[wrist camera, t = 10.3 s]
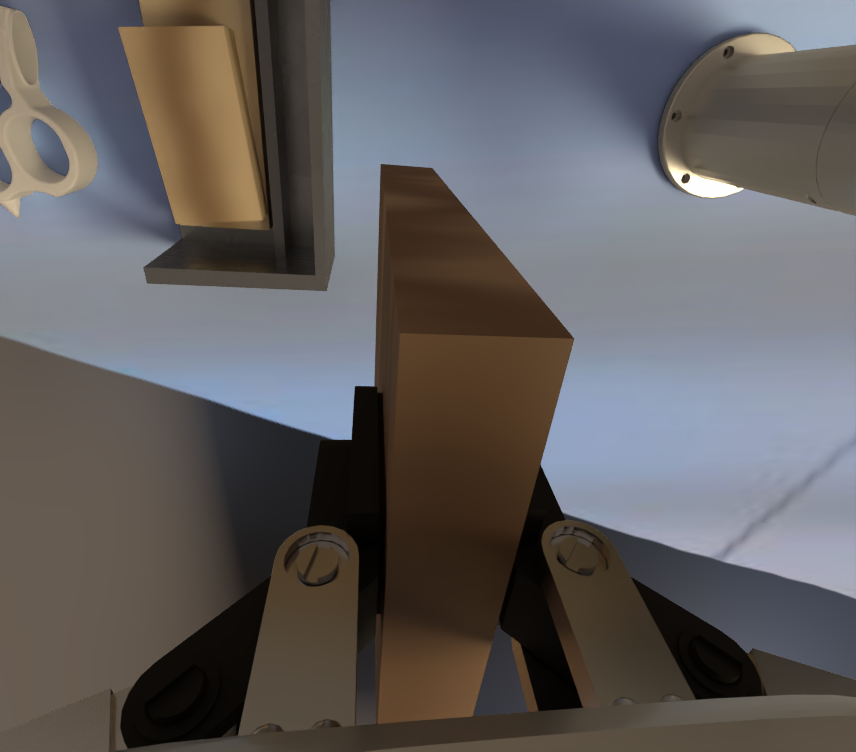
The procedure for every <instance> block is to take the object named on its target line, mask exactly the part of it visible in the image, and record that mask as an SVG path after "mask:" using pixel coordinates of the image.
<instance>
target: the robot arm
mask: <svg viewBox="0 0 856 752" xmlns="http://www.w3.org/2000/svg"><path fill="white" fill-rule="evenodd" d="M723 53H724V54H723ZM672 114H673V117H672ZM658 151H659V156H660V162H661V165H662V167H663V170H664V172H665V174H666V176H667V177H668V178H669V180H670V181H671V183H672V184H674V185H675V186H676V187H677V188H678V189H679V190H681V191H683V192H685V193H687V194H690V195H693V196H697V197H700V198H719V197H725V196H728V195H731V194H734V193H737V192H739V191H741V190H743V189H748V190H752V191H756V192H760V193H764V194H769V195H773V196H777V197H781V198H785V199H789V200H793V201H797V202H801V203H805V204H809V205H814V206H818V207H822V208H826V209H830V210H834V211H838V212H842V213H846V214H850V215H854V216H856V45H848V46H839V47H830V48H821V49H812V50H802V51H796V49H795V48H794V47H793V46H792V45H791V44H790V43H789V42H787V41H786V40H784V39H783V38H781V37H780V36H776V35H772V34H769V33H750V34H744V35H739V36H736V37H733V38H730V39H727V40H724V41H723V42H721V43H719V44H717V45H716V46H714V47H712V48H710V49H709V50H708V51H707V52H705V53H704V54H703V55H702V56H700V57H699V58H698V59H697V60H696V61H695V62H694V63H693V64H692V65H691V66H690V67H689V68H688V70H687V71H686V72H685V73H684V74H683V76H682V77H681V79H680V80H679V82H678V83H677V84H676V86H675V87H674V89H673V91H672V93H671V95H670V97H669V99H668V101H667V103H666V106H665V109H664V112H663V115H662V118H661V123H660V128H659V134H658ZM681 178H682V179H681ZM385 531H386V481H385V450H384V419H383V393H378V387H371V386H355V395H354V411H353V427H352V440H321V441H320V446H319V452H318V459H317V465H316V472H315V478H314V484H313V491H312V497H311V504H310V510H309V517H308V524H307V528H305V529H303V530H300V531H297V532H296V533H295V534H293V535H292V536H291V537H289V538H287V540H286V541H285V542H284V543H283V544H282V546H281V547H280V548H279V550H278V552H277V555H276V558H275V561H274V565H273V570H272V575H271V576H270V577H269V578H268V579H266V580H265V581H264V582H262V583H261V584H260V585H258V586H257V587H256V588H254V589H253V590H252V591H250V592H249V593H248V594H246V595H245V596H244V597H242V598H241V599H240V600H238V601H237V602H236V603H234V604H233V605H232V606H230V607H229V608H228V609H226V610H225V611H224V612H222V613H221V614H220V615H219V616H217V617H215V618H214V619H213V620H211V621H210V622H209V623H208V624H206V625H205V626H203V627H202V628H201V629H200V630H198V631H197V632H196V633H194V634H193V635H191V636H190V637H189V638H187V639H186V640H185V641H183V642H182V643H181V644H180V645H178V646H177V647H175V648H174V649H173V650H172V651H170V652H169V653H168V654H166V655H165V656H163V657H162V658H161V659H159V660H158V661H157V662H156V663H154V664H153V665H152V666H151V667H150V668H149V669H148V670H147V671H146V672H144V673H143V674H142V675H141V676H140V678H139V679H138V680H137V682H136V683H135V685H133V686H131V687H128V688H126V689H123V690H121V691H118V692H116V693H113V691H112V689H111V688H109V689H106V690H104V691H101V692H99V693H97V694H94V695H92V696H89V697H87V698H84V699H82V700H80V701H77V702H74V703H72V704H69V705H67V706H65V707H62V708H60V709H57V710H55V711H52V712H50V713H47V714H45V715H43V716H40V717H38V718H35V719H33V720H30V721H28V722H25V723H23V724H20V725H18V726H15V727H13V728H10V729H8V730H5V731H3V732H1V733H0V752H856V680H854V679H851V678H847V677H844V676H841V675H838V674H834V673H831V672H828V671H825V670H821V669H818V668H815V667H812V666H809V665H805V664H802V663H799V662H796V661H792V660H789V659H786V658H783V657H779V656H776V655H773V654H770V653H766V652H763V651H760V650H757V649H754V648H752V650H751V651H750V652H749V653H746V652H745V651H744V650H743V649H742V648H740V646H739V645H738V644H737V643H736V642H735V641H734V640H732V639H731V638H730V637H728V636H727V635H725V634H724V633H723V632H721V631H720V630H718V629H717V628H715V627H713V626H712V625H710V624H708V623H707V622H705V621H703V620H701V619H700V618H698V617H697V616H695V615H693V614H691V613H690V612H688V611H687V610H685V609H683V608H682V607H680V606H678V605H677V604H675V603H673V602H672V601H670V600H668V599H667V598H665V597H663V596H662V595H660V594H658V593H657V592H655V591H653V590H652V589H650V588H648V587H647V586H645V585H643V584H642V583H640V582H638V581H637V580H635V579H633V578H632V577H630V575H629V573H628V571H627V569H626V567H625V565H624V563H623V562H622V560H621V558H620V556H619V554H618V552H617V550H616V549H615V547H614V546H613V545H612V543H611V542H610V540H609V539H608V538H607V537H606V536H604V535H603V534H602V533H601V532H600V531H598V530H596V529H595V528H593V527H591V526H590V525H587V524H584V523H581V522H578V521H570V520H565V518H564V516H563V513H562V511H561V509H560V507H559V505H558V502H557V500H556V498H555V496H554V494H553V491H552V489H551V487H550V485H549V482H548V480H547V478H546V476H545V474H544V471H543V469H542V467H541V465H540V467H539V471H538V475H537V478H536V482H535V486H534V490H533V493H532V497H531V501H530V504H529V508H528V512H527V515H526V519H525V523H524V527H523V530H522V534H521V538H520V541H519V545H518V549H517V552H516V556H515V560H514V564H513V567H512V571H511V575H510V578H509V582H508V586H507V590H506V593H505V597H504V601H503V604H502V608H501V612H500V615H499V619H498V623H497V625H500V626H501V629H502V630H503V631H504V632H506V633H507V634H509V635H510V636H511V637H512V648H513V652H514V656H515V660H516V664H517V668H518V672H519V676H520V680H521V684H522V688H523V692H524V696H525V700H526V704H527V708H528V712H523V713H511V714H497V715H484V716H471V717H458V718H445V719H432V720H419V721H407V722H395V723H382V724H370V725H358V726H356V703H357V664H358V663H357V662H358V653H359V652H360V651H361V650H362V649H363V648H364V647H365V646H366V645H367V644H368V643H369V642H370V641H371V640H372V639H373V638H374V637H375V636H376V615H377V614H381V607H382V588H383V569H384V550H385Z"/></svg>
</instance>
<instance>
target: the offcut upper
mask: <svg viewBox="0 0 856 752" xmlns="http://www.w3.org/2000/svg"><path fill="white" fill-rule="evenodd" d="M118 29H119V32H120V36H121V39H122V42H123V46H124V49H125V53H126V56H127V59H128V63H129V66H130V70H131V73H132V76H133V80H134V83H135V87H136V90H137V93H138V97H139V100H140V104H141V107H142V111H143V114H144V117H145V121H146V124H147V128H148V131H149V134H150V138H151V141H152V145H153V148H154V151H155V155H156V158H157V162H158V165H159V168H160V172H161V175H162V179H163V182H164V185H165V189H166V192H167V196H168V199H169V202H170V206H171V209H172V213H173V216H174V219H175V223H176V224H188V223H211V222H234V221H257V220H263V219H264V218H265V217H266V215H267V214H268V209H267V204H266V199H265V193H264V188H263V183H262V178H261V172H260V167H259V162H258V157H257V152H256V146H255V141H254V136H253V131H252V125H251V120H250V115H249V110H248V104H247V99H246V94H245V89H244V83H243V78H242V73H241V68H240V63H239V57H238V52H237V47H236V42H235V36H234V31H233V30H231V29H229V28H227V27H225V26H163V27H118Z"/></svg>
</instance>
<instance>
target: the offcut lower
mask: <svg viewBox="0 0 856 752" xmlns="http://www.w3.org/2000/svg"><path fill="white" fill-rule="evenodd" d="M139 2H140V8H141V13H142V19H143V24H144V27H163V26H225V27H227V28H229V29H231V30H233V31H234V36H235V42H236V47H237V52H238V57H239V63H240V68H241V73H242V78H243V83H244V89H245V94H246V99H247V104H248V110H249V115H250V120H251V125H252V131H253V136H254V141H255V146H256V152H257V157H258V162H259V167H260V172H261V178H262V183H263V188H264V193H265V199H266V204H267V209H268V214H267V215H266V217H265V218H264V219H263V220H257V221H234V222H211V223H188V224H180V225H186V226H203V227H220V228H237V229H254V230H270V229H271V228H272V227H273V219H272V206H271V194H270V182H269V170H268V158H267V146H266V134H265V122H264V110H263V98H262V86H261V74H260V62H259V50H258V38H257V26H256V14H255V2H254V0H139Z"/></svg>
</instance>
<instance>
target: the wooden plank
mask: <svg viewBox="0 0 856 752" xmlns="http://www.w3.org/2000/svg"><path fill="white" fill-rule="evenodd" d="M573 341H574V338H573V337H572V335H571V334H570V333H569V332H568V331H567V329H566V328H565V327H564V326H563V325H562V323H561V322H560V321H559V320H558V319H557V317H556V316H555V315H554V314H553V313H552V311H551V310H550V309H549V308H548V307H547V305H546V304H545V303H544V302H543V301H542V299H541V298H540V297H539V296H538V295H537V293H536V292H535V291H534V290H533V289H532V287H531V286H530V285H529V284H528V283H527V281H526V280H525V279H524V278H523V277H522V275H521V274H520V273H519V272H518V271H517V269H516V268H515V267H514V266H513V265H512V263H511V262H510V261H509V260H508V259H507V257H506V256H505V255H504V254H503V253H502V251H501V250H500V249H499V248H498V247H497V245H496V244H495V243H494V242H493V241H492V239H491V238H490V237H489V236H488V235H487V233H486V232H485V231H484V230H483V229H482V227H481V226H480V225H479V224H478V223H477V221H476V220H475V219H474V218H473V217H472V215H471V214H470V213H469V212H468V211H467V209H466V208H465V207H464V206H463V205H462V203H461V202H460V201H459V200H458V199H457V197H456V196H455V195H454V194H453V192H452V191H451V190H450V189H449V188H448V186H447V185H446V184H445V183H444V182H443V180H442V179H441V178H440V177H439V176H438V174H437V173H436V172H435V171H434V170H433V168H424V167H411V166H398V165H386V164H381V175H380V210H379V245H378V280H377V315H376V351H375V387H378V393H383V419H384V450H385V481H386V531H385V550H384V569H383V588H382V607H381V614H377V615H376V724H382V723H395V722H407V721H419V720H432V719H445V718H458V717H471V716H472V715H473V712H474V708H475V704H476V701H477V697H478V693H479V690H480V686H481V682H482V678H483V675H484V671H485V667H486V664H487V660H488V656H489V652H490V649H491V645H492V641H493V638H494V634H495V630H496V627H497V623H498V619H499V615H500V612H501V608H502V604H503V601H504V597H505V593H506V590H507V586H508V582H509V578H510V575H511V571H512V567H513V564H514V560H515V556H516V552H517V549H518V545H519V541H520V538H521V534H522V530H523V527H524V523H525V519H526V515H527V512H528V508H529V504H530V501H531V497H532V493H533V490H534V486H535V482H536V478H537V475H538V471H539V467H540V464H541V460H542V456H543V452H544V449H545V445H546V441H547V438H548V434H549V430H550V427H551V423H552V419H553V415H554V412H555V408H556V404H557V401H558V397H559V393H560V390H561V386H562V382H563V378H564V375H565V371H566V367H567V364H568V360H569V356H570V352H571V349H572V345H573Z"/></svg>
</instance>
